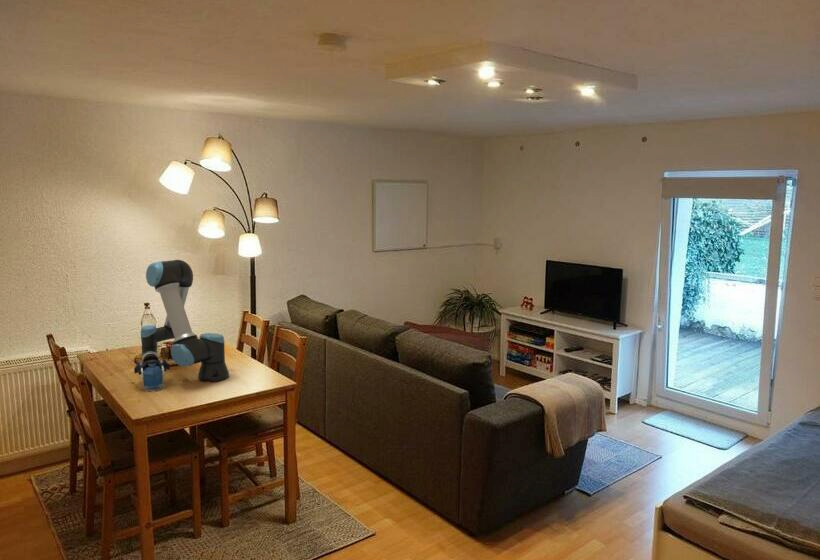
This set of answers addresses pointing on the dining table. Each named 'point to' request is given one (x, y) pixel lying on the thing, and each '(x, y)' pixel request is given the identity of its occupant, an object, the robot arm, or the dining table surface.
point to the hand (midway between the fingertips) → (153, 373)
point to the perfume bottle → (152, 375)
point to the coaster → (153, 388)
